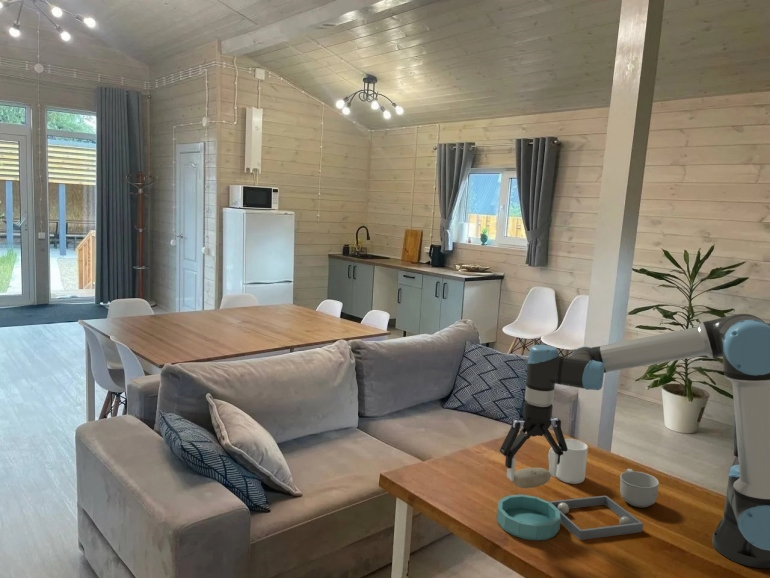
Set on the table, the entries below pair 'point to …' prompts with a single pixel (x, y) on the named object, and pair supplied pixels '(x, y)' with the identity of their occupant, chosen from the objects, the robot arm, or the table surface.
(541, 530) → the bowl
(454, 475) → the table surface
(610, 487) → the table surface
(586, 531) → the tray
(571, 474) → the mug
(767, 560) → the robot arm
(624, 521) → the pebble
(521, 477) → the stone
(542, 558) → the table surface
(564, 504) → the white round ball
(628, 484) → the teacup
